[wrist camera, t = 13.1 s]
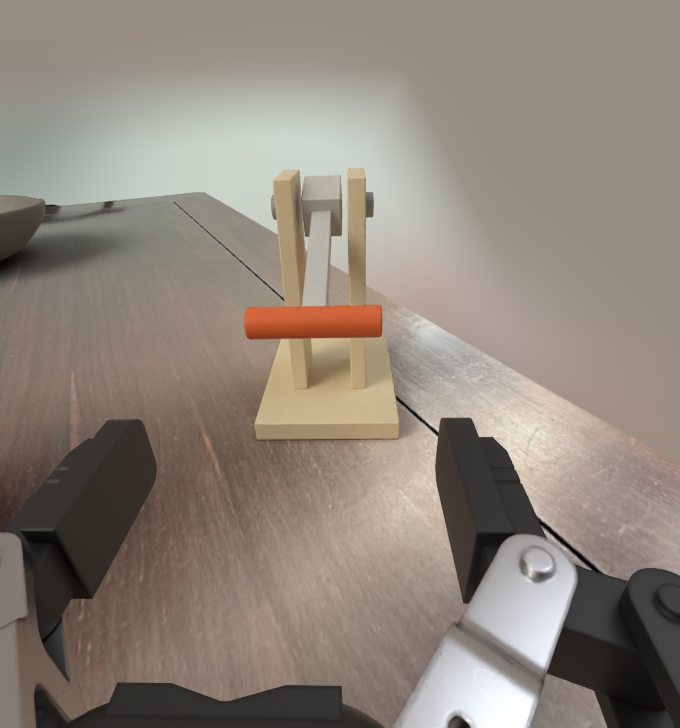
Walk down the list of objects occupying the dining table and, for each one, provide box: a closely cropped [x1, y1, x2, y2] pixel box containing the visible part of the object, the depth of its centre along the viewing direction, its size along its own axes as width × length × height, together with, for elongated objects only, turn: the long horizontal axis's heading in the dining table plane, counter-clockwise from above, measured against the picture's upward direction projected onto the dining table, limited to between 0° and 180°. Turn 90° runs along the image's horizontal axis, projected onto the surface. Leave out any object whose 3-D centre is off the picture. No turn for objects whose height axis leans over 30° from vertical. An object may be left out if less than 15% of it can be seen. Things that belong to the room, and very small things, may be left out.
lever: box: [244, 175, 382, 339], centre depth 23 cm, size 12×6×2 cm, turn 179°
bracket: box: [254, 168, 400, 440], centre depth 29 cm, size 12×9×15 cm
